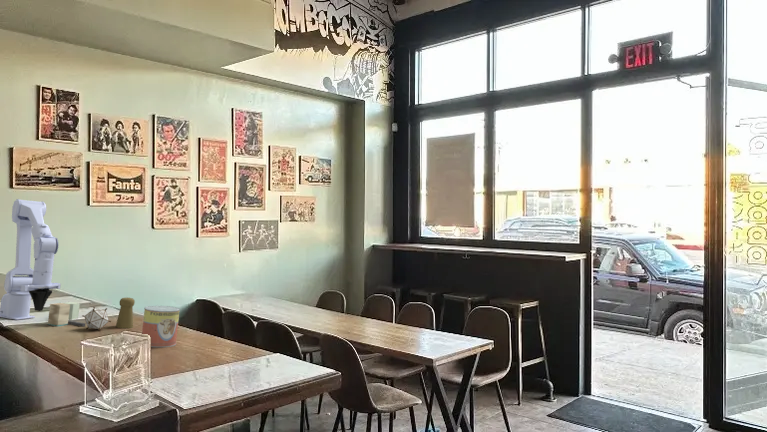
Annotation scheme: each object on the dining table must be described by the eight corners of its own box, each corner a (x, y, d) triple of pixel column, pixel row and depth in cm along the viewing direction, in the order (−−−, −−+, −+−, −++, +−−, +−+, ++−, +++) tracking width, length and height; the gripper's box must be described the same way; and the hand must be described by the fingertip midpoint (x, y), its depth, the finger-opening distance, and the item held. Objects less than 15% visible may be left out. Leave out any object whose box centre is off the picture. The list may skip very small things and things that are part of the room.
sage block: (60, 318, 216) (61, 303, 216) (66, 317, 220) (68, 301, 220) (71, 319, 216) (73, 304, 216) (78, 318, 220) (79, 302, 220)
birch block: (47, 324, 203) (50, 304, 203) (58, 323, 207) (60, 302, 207) (57, 326, 202) (60, 305, 202) (67, 324, 206) (70, 304, 206)
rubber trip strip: (48, 320, 210) (48, 317, 210) (50, 320, 211) (51, 317, 211) (82, 326, 205) (82, 323, 205) (85, 326, 206) (85, 323, 207)
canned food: (150, 348, 182) (154, 311, 182) (134, 341, 190) (138, 306, 190) (182, 345, 190) (186, 310, 191) (166, 339, 198) (170, 305, 198)
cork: (129, 325, 216) (132, 296, 217) (135, 328, 212) (138, 298, 212) (113, 325, 212) (116, 296, 212) (118, 328, 208) (122, 299, 208)
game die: (100, 339, 204) (121, 318, 206) (87, 335, 196) (109, 312, 198) (84, 324, 206) (105, 303, 209) (71, 319, 198) (93, 297, 201)
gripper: (33, 273, 188) (29, 314, 188) (69, 272, 202) (64, 309, 202) (17, 271, 190) (12, 311, 190) (53, 270, 204) (49, 307, 204)
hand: (38, 310), depth 196 cm, fingers closed
